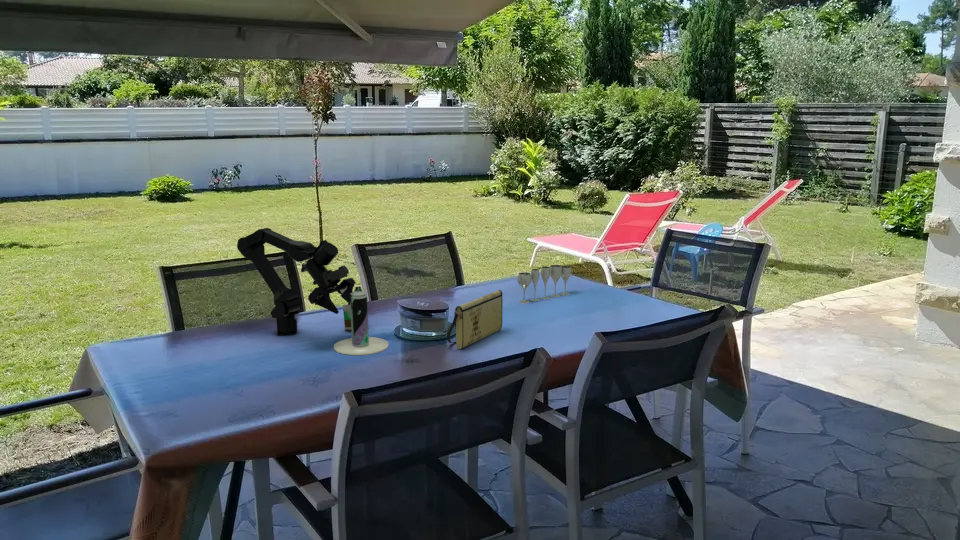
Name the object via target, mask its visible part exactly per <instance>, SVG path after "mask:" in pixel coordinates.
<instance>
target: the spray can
mask: <svg viewBox="0 0 960 540" xmlns="http://www.w3.org/2000/svg"><path fill="white" fill-rule="evenodd" d="M350 295H351V296H350V305H351V327H352V331H351V338H352V346H354V347H366V346H368V345H369V337H370V335H369V314H368V313H369V312H368V295H367V292H365V291H364V290H363V289H362V286H354V289H353V292H352V293H351V294H350Z"/></svg>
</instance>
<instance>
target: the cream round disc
mask: <svg viewBox="0 0 960 540" xmlns="http://www.w3.org/2000/svg"><path fill="white" fill-rule="evenodd" d="M388 348H389V341H387V340H386V339H383V338H379V337H375V336H369V345H368V346H366V347H354V346H352V337H350V338H349V337H348V338H345V339H341V340H339V341H337V342H336V343H335V344H334V345H333V350H334V352H336V353H338V354H340V353H341V354H340V355H345V354H346V356H370V355H374V354H378V353H381V352H383V351H384V352H385V351H386V350H387V349H388Z"/></svg>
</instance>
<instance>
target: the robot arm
mask: <svg viewBox="0 0 960 540" xmlns="http://www.w3.org/2000/svg"><path fill="white" fill-rule="evenodd" d="M266 243H267V244H268V245H271V246H272V247H275V248H277V249H280V250H282V251H284V252H286V253H287V255H288V257H289V258H291V259H292V260H294V261H295V262H297V263H301V262H305V261H306V262H305V263H302V264H301V269H300V272H301V273H306V272H308V275H309V276H310V277H311V278H312V280H313V282H312V285H314V286H316V285H317V287H315V288H314V289H313V290H311V291H310V294H308V296H307V298H308V301H309V303H310V304H311V305H315V306H319V307H321V308H324V309H326V310H327V311H330V312H331V313H333V314H335V315H338V314H339V313H340V312H339V309H338V308H337V307H336V305H335V303H334V302H333V300H332V298H331V294H332V293H333V294H334V293H336V292H337V293H338V294H340V295H339V296H340V297H341V298H342V299H343V300H344V301H346V303H349V304H350V296H351V295H350V294H351V293H352V292H354V288H355V285H356V283H357V282H356V280H355V279H354V278H353V277H348V276H349V273H350V271H349V269H348V267H347V266H346V265H345V264H344V265H341V266H338V269H335V270H332V269H329V270H328V268H327V266H329V265H330V264H331V262H333V260H334V259H335V258H336V256H337V255H338V254H339V249H338V247H337V246H336V245H334V244H333V243H331V242H330V241H329V242H328V241H327V239H324V240H321V241H320V242H319V244H318V245H317V246H315V245H314V244H313V243H311V242H308V241H304V240H303V241H302V240H296V239H295V240H294V239H292V238H289V237H288V236H285V235H284V234H281V233H278V232H276V231H274V230H272V229H271V228H269V227H263V228H258V229H257V230H256V231H254V232H252V233H251V234H248V235H246V236H243V237H240V238H239V239H238V240H237V243H236V249H237V251H238V252H239V254H241V255H242V256H243V257H244V258H245V259H247V260H249V261H251V262H252V264H253V265H254V266H255V268H256V270H257V271H258V273H259V274H260V276H261V277H262V279H263V280H264V282H265V283H266V285H267V286H268V288H269V290H270V292H272V295H273V303H274V305H275V306H274V307H273V309H272V310H271V311H270V315H271V318H272V319H276V336H287V335H288V336H290V335H296V334H297V331H298V321H297V320H298V319H297V317H296V316H295V315H298V314H300V309H301V306H302V303H303V302H302V300H301V295H300V294H298V292H297V289H295V288H294V287H291V288H290V287H289V288H288V287H287V286H286V285H285V283H284V281H283V280H282V279H281V278H282V277H280V276H279V274H278V272H277V271H276V270H275V268H274V266H273V265H272V264H271V261H270V260H269V259H268V257H267V256H266V253H265V251H266V250H265V249H266V248H265V244H266ZM344 278H345V279H344ZM341 279H342V280H341Z"/></svg>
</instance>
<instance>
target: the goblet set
mask: <svg viewBox="0 0 960 540" xmlns="http://www.w3.org/2000/svg"><path fill="white" fill-rule="evenodd" d="M571 274H572V267H571V266H569V265H560V264H550V265H549V266H542V267H541V270H540V269H539V268H532V269H531V271H530V273H529V272H526V271H525V272H523V271H522V272H518V276H517V283H518V285H519V286H521V288H522V290H523V300H519V301H518V303H519V302H520V303H519V304H529V302H530V301H532V302H539V301H540V299H542V300H549V299H550V298H560V297H561V296H570V295H571V293H569V292H566V287H567V283H568V282H567V281H568V280H569V279H570V277H571ZM540 276H541V280H542V282H543V284H544V285H543V286H544V296H541V297H540V299H539V298H536V289H537V285H538V282H539V279H540ZM550 278H551V280H552V281H553V283H554V294H555V295H554V294H550V295H549V296H546V295H547V294H546V292H547V290H546V289H547V283H548V282H549V279H550ZM560 279H562V280H563V284H564V292H560V293H559V294H557V284H558V281H559V280H560ZM531 283H533V289H534V293H533V294H534V295H533V296H534V298H530V301H529V300H526V299H525V297H526V289H527V288H528V287H529V286H530V285H531Z"/></svg>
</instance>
